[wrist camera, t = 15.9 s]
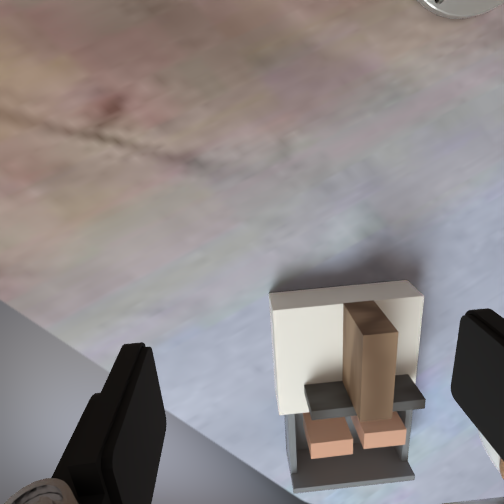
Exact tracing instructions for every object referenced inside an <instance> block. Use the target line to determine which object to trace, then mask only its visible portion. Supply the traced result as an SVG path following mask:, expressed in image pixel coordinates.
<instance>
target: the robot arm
mask: <svg viewBox="0 0 504 504" xmlns="http://www.w3.org/2000/svg"><path fill="white" fill-rule="evenodd" d="M417 1H418V2H419V3H420V4H421V5H422V6H424V7H425V8H426V9H427V10H429V11H431V12H432V13H434V14H436V15H438V16H442V17H446V18H449V19H465V18H471V17H476V16H478V15H481V14H484V13H486V12H489V11H491V10H493V9H495V8H496V7H498V6H500V5H502V4H503V3H504V0H436V3H435V0H417ZM451 392H452V395H453V398H454V399H455V401H456V402H457V403H458V405H459V406H460V407H461V408H462V410H463V411H464V412H465V413H466V415H467V416H468V417H469V418H470V420H471V421H472V422H473V423H474V425H475V426H476V427H477V428H478V430H479V431H480V432H481V433H482V435H483V436H484V437H485V438H486V440H487V441H488V442H489V444H490V445H491V446H492V447H493V449H494V450H495V451H496V452H497V454H498V455H499V456H500V457H501V459H502V460H503V461H504V318H502V317H501V316H500V315H498V314H497V313H496V312H494V311H493V310H491V309H477V310H469V311H467V312H466V314H465V316H462V318H461V320H460V326H459V333H458V340H457V347H456V354H455V361H454V368H453V375H452V382H451ZM165 431H166V415H165V410H164V405H163V400H162V396H161V391H160V386H159V381H158V376H157V371H156V366H155V361H154V357H153V352H152V348H151V347H145V344H144V343H143V342H142V343H132V344H124V345H123V346H122V348H121V350H120V352H119V354H118V356H117V359H116V361H115V363H114V365H113V367H112V369H111V372H110V374H109V376H108V379H107V380H106V383H105V385H104V387H103V389H102V391H101V393H95V394H94V395H93V396H92V397H91V399H90V400H89V402H88V404H87V406H86V408H85V410H84V412H83V414H82V416H81V418H80V421H79V422H78V425H77V427H76V429H75V431H74V433H73V435H72V437H71V439H70V441H69V443H68V445H67V447H66V449H65V451H64V453H63V455H62V458H61V459H60V461H59V463H58V465H57V467H56V470H55V472H54V474H53V476H52V478H48V479H47V478H46V479H43V480H39V481H36V482H33V483H31V484H30V485H27V486H26V487H24V488H22V489H21V490H19V491H18V492H17V493H15V494H14V495H13V496H11V497H10V498H9V499H8V500H7V501H6V503H4V504H151V502H152V497H153V492H154V487H155V482H156V477H157V472H158V466H159V462H160V457H161V452H162V447H163V442H164V437H165ZM444 504H504V497H499V498H490V499H480V500H471V501H462V502H453V503H444Z"/></svg>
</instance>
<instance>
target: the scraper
mask: <svg viewBox="0 0 504 504" xmlns="http://www.w3.org/2000/svg"><path fill="white" fill-rule="evenodd" d="M398 333H399V332H398V331H397V329H396V328H395V327H394V326H393V324H392V323H391V322H390V320H389V319H388V318H387V317H386V315H385V314H384V313H383V312H382V310H381V309H380V308H379V306H378V305H377V304H376V303H375V301H374V300H371V301H361V302H351V303H343V370H342V381H336V382H326V383H316V384H307V385H304V394H305V398H306V401H307V405H308V409H309V412H310V416H311V420H320V419H329V418H339V417H348V416H358V418H359V421H360V422H365V421H375V420H384V419H392V412H395V411H404V410H414V409H423V408H425V400H426V399H425V398H424V396H423V395H422V393H421V392H420V391H419V389H418V388H417V386H416V385H415V383H414V382H413V380H412V379H411V378H410V376H409V375H408V374H403V375H395V373H396V359H397V346H398Z"/></svg>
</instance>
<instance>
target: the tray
mask: <svg viewBox="0 0 504 504" xmlns="http://www.w3.org/2000/svg"><path fill="white" fill-rule="evenodd" d="M412 411H413V410H404V411H397V413H398V415H399V417H400V418H401V420H402V422H403V424H404V425H405V427H406V429H407V431H406V441H405V445H397V446H387V447H378V448H369V449H363V446H362V444H361V441H360V439H359V436H358V434H357V431H356V429H355V426H354V424H353V421H352V419H351V416H348V417H345V419H346V422H347V424H348V427H349V430H350V432H351V435H352V437H353V454H349V455H341V456H332V457H324V458H316V459H311V456H310V452H309V447H308V443H307V439H306V435H305V431H304V427H303V413H296V414H287V415H285V433H286V450H287V457H288V463H289V468H290V474H291V480H292V486H293V492H294V493H303V492H312V491H321V490H330V489H339V488H348V487H357V486H366V485H375V484H384V483H393V482H401V481H410V480H414V479H415V475H414V473H413V471H412V469H411V467H410V465H409V463H408V451H409V441H410V431H411V421H412Z"/></svg>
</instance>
